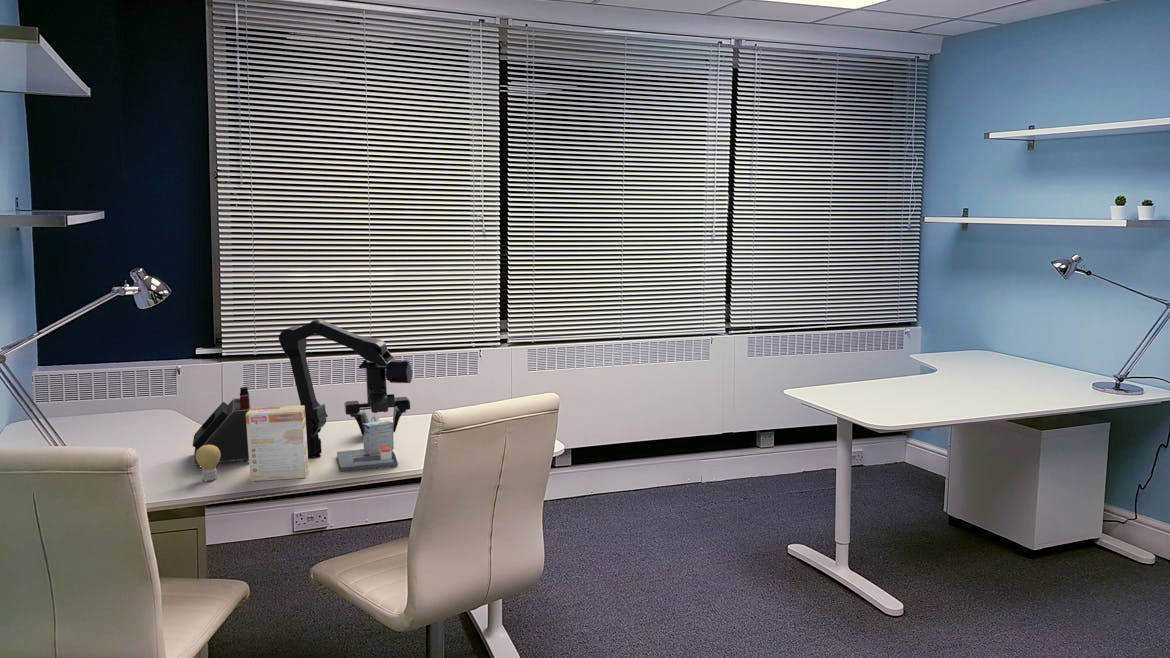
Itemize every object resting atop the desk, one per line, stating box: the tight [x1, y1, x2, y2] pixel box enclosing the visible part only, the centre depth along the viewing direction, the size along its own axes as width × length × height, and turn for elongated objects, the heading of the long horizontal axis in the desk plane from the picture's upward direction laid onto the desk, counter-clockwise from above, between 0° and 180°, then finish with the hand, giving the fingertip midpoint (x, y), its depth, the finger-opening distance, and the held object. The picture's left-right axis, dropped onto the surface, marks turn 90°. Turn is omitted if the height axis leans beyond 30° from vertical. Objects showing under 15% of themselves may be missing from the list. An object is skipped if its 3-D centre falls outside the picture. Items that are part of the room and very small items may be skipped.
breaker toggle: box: [380, 446, 392, 460], centre depth 266 cm, size 3×4×4 cm
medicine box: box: [362, 419, 395, 455], centre depth 272 cm, size 8×4×9 cm, turn 131°
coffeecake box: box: [246, 405, 310, 482], centre depth 255 cm, size 15×7×20 cm, turn 99°
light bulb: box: [196, 445, 221, 481], centre depth 253 cm, size 6×6×10 cm
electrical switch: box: [360, 409, 381, 425], centre depth 296 cm, size 9×5×9 cm, turn 174°
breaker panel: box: [336, 448, 399, 473], centre depth 269 cm, size 16×16×3 cm
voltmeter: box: [192, 386, 252, 467], centre depth 271 cm, size 16×16×20 cm
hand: (378, 433), depth 272 cm, fingers open, 9 cm apart
